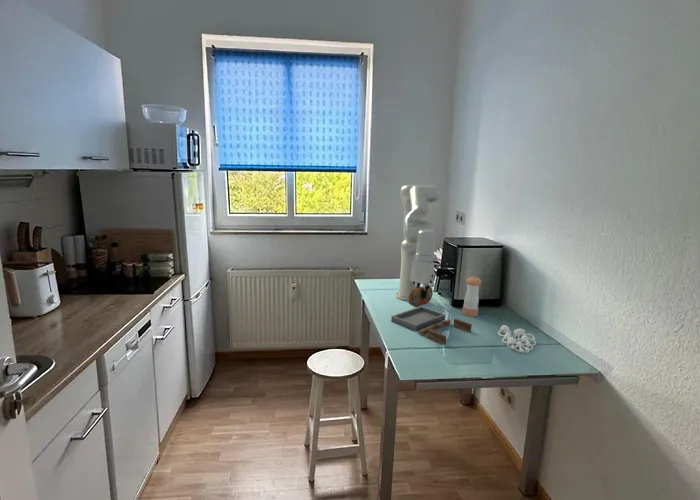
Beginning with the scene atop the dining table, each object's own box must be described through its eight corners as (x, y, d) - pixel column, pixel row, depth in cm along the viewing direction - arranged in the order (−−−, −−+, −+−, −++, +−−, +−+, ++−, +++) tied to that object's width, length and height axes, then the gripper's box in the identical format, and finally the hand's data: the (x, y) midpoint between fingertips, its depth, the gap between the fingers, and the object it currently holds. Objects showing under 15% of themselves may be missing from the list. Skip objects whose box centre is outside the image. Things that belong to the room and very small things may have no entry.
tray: (420, 310, 199) (421, 306, 199) (444, 319, 190) (445, 314, 189) (391, 321, 184) (391, 316, 184) (415, 331, 175) (416, 325, 174)
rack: (447, 323, 186) (448, 315, 185) (471, 331, 177) (471, 324, 177) (419, 334, 171) (420, 326, 171) (443, 344, 163) (444, 336, 162)
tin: (411, 309, 179) (414, 291, 177) (405, 306, 181) (409, 288, 179) (431, 302, 190) (434, 286, 187) (425, 300, 192) (429, 283, 189)
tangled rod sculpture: (539, 359, 158) (541, 350, 157) (500, 350, 161) (502, 341, 160) (531, 338, 176) (533, 329, 175) (496, 330, 179) (498, 322, 178)
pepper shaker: (479, 316, 195) (484, 278, 191) (464, 316, 196) (468, 277, 191) (475, 311, 203) (479, 274, 198) (460, 310, 203) (464, 273, 199)
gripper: (404, 255, 184) (401, 294, 188) (434, 262, 172) (430, 303, 176) (414, 253, 189) (411, 291, 193) (444, 260, 178) (440, 300, 181)
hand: (420, 296), depth 184 cm, fingers closed on tin, 2 cm apart
